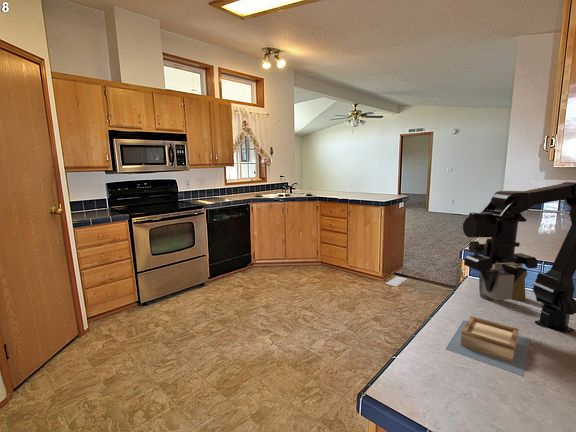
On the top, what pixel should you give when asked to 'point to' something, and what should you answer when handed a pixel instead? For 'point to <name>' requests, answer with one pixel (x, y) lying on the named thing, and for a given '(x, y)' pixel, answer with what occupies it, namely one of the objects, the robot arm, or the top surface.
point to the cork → (519, 288)
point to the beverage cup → (482, 283)
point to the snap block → (501, 286)
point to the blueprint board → (514, 366)
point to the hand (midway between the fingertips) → (497, 290)
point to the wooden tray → (490, 338)
